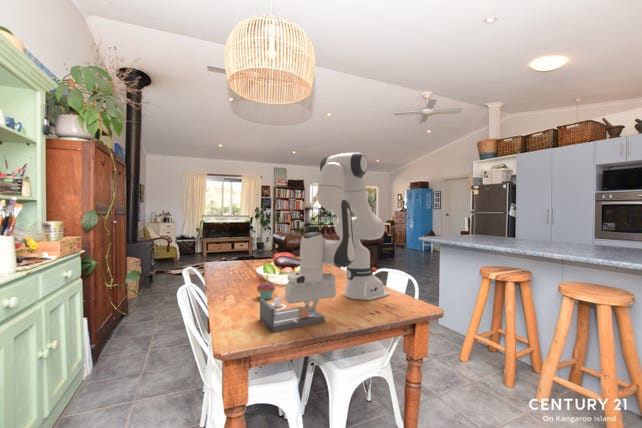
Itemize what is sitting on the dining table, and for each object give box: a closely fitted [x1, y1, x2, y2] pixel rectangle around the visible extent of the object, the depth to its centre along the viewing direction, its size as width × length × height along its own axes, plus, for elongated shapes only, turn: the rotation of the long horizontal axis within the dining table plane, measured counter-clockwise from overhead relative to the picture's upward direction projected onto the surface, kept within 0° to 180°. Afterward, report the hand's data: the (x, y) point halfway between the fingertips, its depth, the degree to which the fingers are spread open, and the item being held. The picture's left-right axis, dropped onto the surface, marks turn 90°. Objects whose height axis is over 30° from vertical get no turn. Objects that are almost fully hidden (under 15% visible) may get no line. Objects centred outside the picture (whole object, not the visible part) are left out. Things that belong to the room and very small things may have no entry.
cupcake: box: [256, 273, 276, 300], centre depth 138 cm, size 9×8×12 cm
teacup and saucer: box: [273, 296, 287, 311], centre depth 126 cm, size 9×8×4 cm
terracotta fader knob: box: [297, 304, 309, 318], centre depth 108 cm, size 3×3×4 cm
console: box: [259, 297, 326, 333], centre depth 110 cm, size 21×15×8 cm
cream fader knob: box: [268, 302, 277, 315], centre depth 110 cm, size 3×3×4 cm
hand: (311, 311), depth 109 cm, fingers closed
